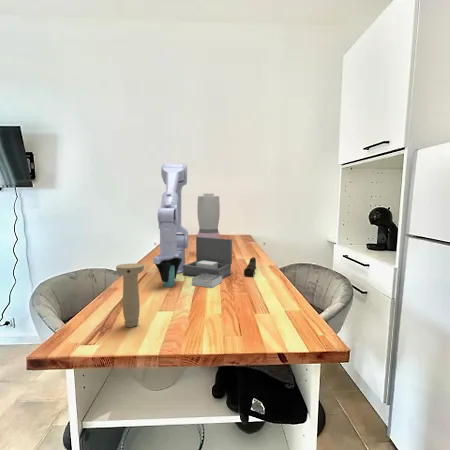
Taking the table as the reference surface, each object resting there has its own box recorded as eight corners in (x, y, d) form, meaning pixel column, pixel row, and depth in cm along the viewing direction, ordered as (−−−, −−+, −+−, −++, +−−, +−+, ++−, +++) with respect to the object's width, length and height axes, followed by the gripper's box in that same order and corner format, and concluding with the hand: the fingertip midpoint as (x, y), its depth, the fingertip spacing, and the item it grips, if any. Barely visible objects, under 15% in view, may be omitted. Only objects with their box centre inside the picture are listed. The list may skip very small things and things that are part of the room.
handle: (120, 321, 81) (118, 263, 80) (146, 320, 82) (144, 263, 81) (116, 330, 77) (114, 268, 75) (143, 328, 77) (142, 267, 76)
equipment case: (183, 275, 127) (182, 240, 125) (197, 269, 136) (197, 236, 135) (219, 280, 120) (219, 243, 118) (231, 273, 129) (231, 239, 128)
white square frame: (192, 284, 114) (192, 278, 114) (203, 279, 121) (203, 273, 121) (211, 287, 110) (211, 280, 110) (222, 282, 117) (222, 275, 117)
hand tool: (253, 278, 124) (254, 266, 124) (243, 277, 125) (243, 265, 125) (260, 267, 143) (260, 256, 142) (251, 266, 143) (251, 256, 143)
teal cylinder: (160, 286, 112) (160, 266, 112) (167, 283, 116) (167, 264, 115) (170, 287, 111) (170, 267, 110) (177, 284, 114) (176, 265, 113)
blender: (211, 259, 157) (211, 193, 154) (191, 256, 164) (191, 193, 161) (228, 254, 171) (228, 193, 167) (209, 251, 177) (209, 193, 174)
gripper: (165, 245, 103) (165, 286, 105) (189, 239, 116) (189, 276, 118) (147, 244, 107) (148, 284, 108) (173, 238, 119) (173, 274, 121)
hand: (168, 280), depth 113 cm, fingers closed on teal cylinder, 4 cm apart
